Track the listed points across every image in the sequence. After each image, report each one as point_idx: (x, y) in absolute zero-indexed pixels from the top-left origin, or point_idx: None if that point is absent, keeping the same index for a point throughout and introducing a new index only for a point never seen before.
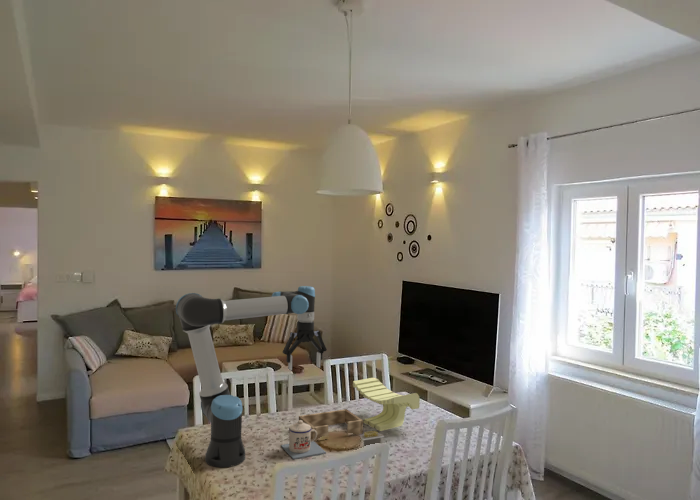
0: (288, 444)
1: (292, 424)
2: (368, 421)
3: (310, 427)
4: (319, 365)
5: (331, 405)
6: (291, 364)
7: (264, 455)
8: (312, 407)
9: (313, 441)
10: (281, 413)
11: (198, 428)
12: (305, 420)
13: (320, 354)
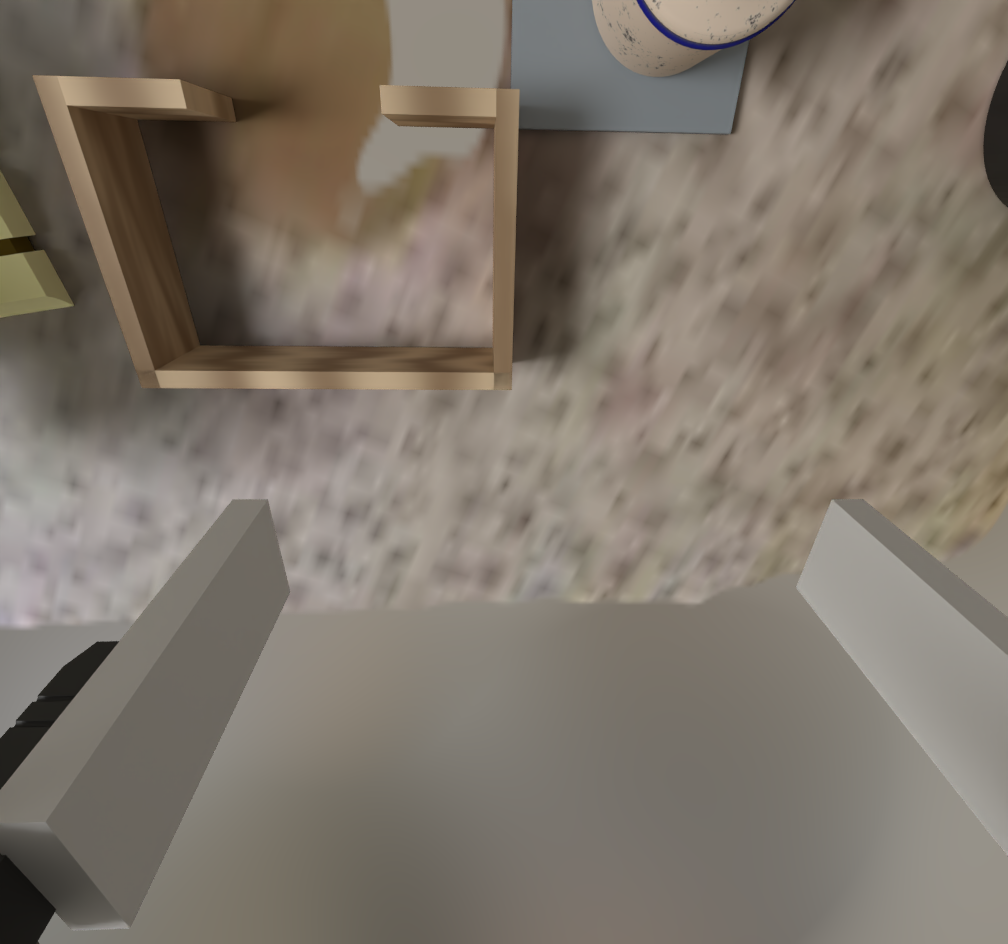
0: (688, 116)
1: (768, 10)
2: (19, 253)
3: None
4: (234, 526)
5: None
6: (935, 573)
7: (898, 22)
8: (326, 603)
9: (515, 87)
10: (501, 583)
11: None
12: (505, 288)
13: (24, 770)
